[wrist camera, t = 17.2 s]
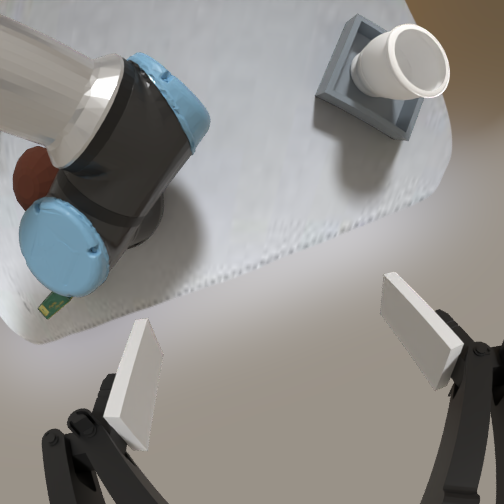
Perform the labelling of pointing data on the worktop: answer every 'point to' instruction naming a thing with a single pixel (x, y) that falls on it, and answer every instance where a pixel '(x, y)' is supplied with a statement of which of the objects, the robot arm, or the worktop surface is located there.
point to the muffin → (33, 176)
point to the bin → (356, 102)
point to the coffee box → (53, 304)
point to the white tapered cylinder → (402, 65)
